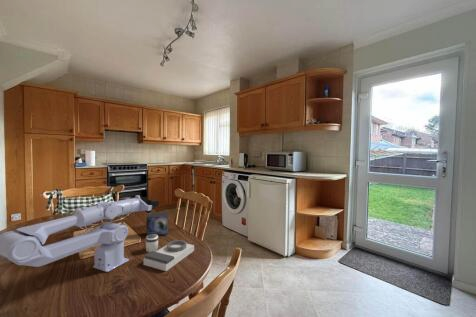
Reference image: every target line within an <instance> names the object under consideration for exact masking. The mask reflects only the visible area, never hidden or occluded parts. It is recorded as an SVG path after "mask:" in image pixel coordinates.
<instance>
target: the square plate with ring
mask: <svg viewBox="0 0 476 317" xmlns="http://www.w3.org/2000/svg"><path fill="white" fill-rule="evenodd" d="M194 251H195V245H194V244H191V243H188V242H186V241H185V240H181V239H178V240H177V239H176V240H172V241H169V242H167V244H166V245H164V246H163V247H161V248H158V250H157V251H155V252H154V251H151V252H147V254H145V255H144V258H143V266H147V267H151V268H153V269H158V270H160V271H164V272H167V271H169V270H170V269H171V268H172V267H174V266H175V265H177V264H179V262H181V261H182V260H184V259H185V258H186V257H188V256H189V255H191V254H192V253H193V252H194Z"/></svg>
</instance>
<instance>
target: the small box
mask: <svg viewBox="0 0 476 317" xmlns="http://www.w3.org/2000/svg"><path fill="white" fill-rule="evenodd" d="M145 233H146V235H145V238H146V237H147V236H148V235H152V234H156V235H158V237H159V236H161V237H162V236H168V233H169V212H154V213H153V212H150V213H147V215H146V232H145Z"/></svg>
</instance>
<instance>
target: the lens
mask: <svg viewBox="0 0 476 317" xmlns="http://www.w3.org/2000/svg"><path fill="white" fill-rule="evenodd" d="M157 250H159V236H158V235H156V234H152V235H148V236H147V237H146V236H145V252H147V253H150V252H151V251H154V252H156V251H157Z"/></svg>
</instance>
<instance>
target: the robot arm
mask: <svg viewBox="0 0 476 317" xmlns="http://www.w3.org/2000/svg"><path fill="white" fill-rule="evenodd" d="M159 205H160V201H159V200H150V199H148V197H145V196H140V194H139V195H138V194H137V195H135V194H131V195H130V197H129V198H128V197H126V198H124V199H121V200H115V201H112V202H110V201H109V202H106V201H105V202H103V201H101V202H97V203H95V205H93V206H88V207H87V206H82V207H80V209H78V210H76V211H75V212H74V213H73V214H72V215H69V216H65V217H60V218H57V219H53V220H48V221H44V222H41V223H40V222H39V223H36V224H32V225H27V226H22V227H19V228H15V230H16V231H15V230H10V231H6V232H4V233H2V234H0V257H1V258H2V259H5V260H8V261H10V262H12V263H14V264H16V266H27V267H28V266H29V267H34V268H39V267H43V266H45V265H48V264H51V263H53V262H56V261H59V260H61V259H64V258H67V257H69V256H72V255H74V254H78V253H79V252H82V251H85V250H87V249H90V248H92V247H95V246H97V247H96V248H95V250H94V252H93V253H94V255H93V256H94V265H93V266H92V268H94V269H97V270H100V271H103V272H105V273H108V272H110V271H112V270H114V269H116V268H117V267H120V266H121V265H123V264H125V263H127V262H128V261H130V259H129V258H127V257H125V241H126V238H127V237H128V234H129V228H128V226H127V225H124V224H118V223H114V222H111V221H112V220H113V219H114V218H115V219H116V217H119V216H122V215H126V214H131V213H135V212H138V213H139V212H143V211H145V213H147V214H150V213H152V212H153V210H154V209H155V208H157V207H159ZM103 219H104V220H110V221H105V222H103V223H102V224H101V225H99V226H97V227H95V228H94V230H90V231H88V232H85V233H82V234H79V235H74V236H73V237H70V238H69V237H68V238H66V239H63V240H60V241H57V242H53V243H49V244H46V245H45V243H46V241H47V240H48V237H49V236H50V235H53V234H56V233H58V232H59V233H60V232H62V231H64V230H66V229H69V228H71V227H74V226H76V227H79V228H82V227H86V226H88V225H89V226H90V224H94V223H97V222H101V221H102V220H103ZM42 245H43V246H42ZM98 245H99V246H98Z"/></svg>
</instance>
